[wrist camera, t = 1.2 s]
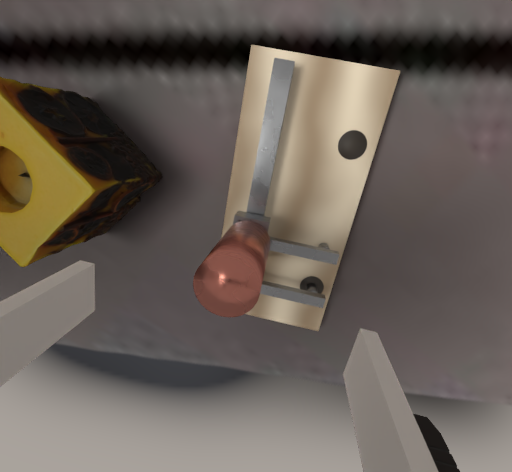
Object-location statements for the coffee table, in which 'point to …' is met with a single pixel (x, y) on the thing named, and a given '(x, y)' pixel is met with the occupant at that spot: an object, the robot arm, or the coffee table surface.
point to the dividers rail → (265, 168)
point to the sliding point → (245, 265)
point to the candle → (62, 171)
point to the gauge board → (309, 166)
